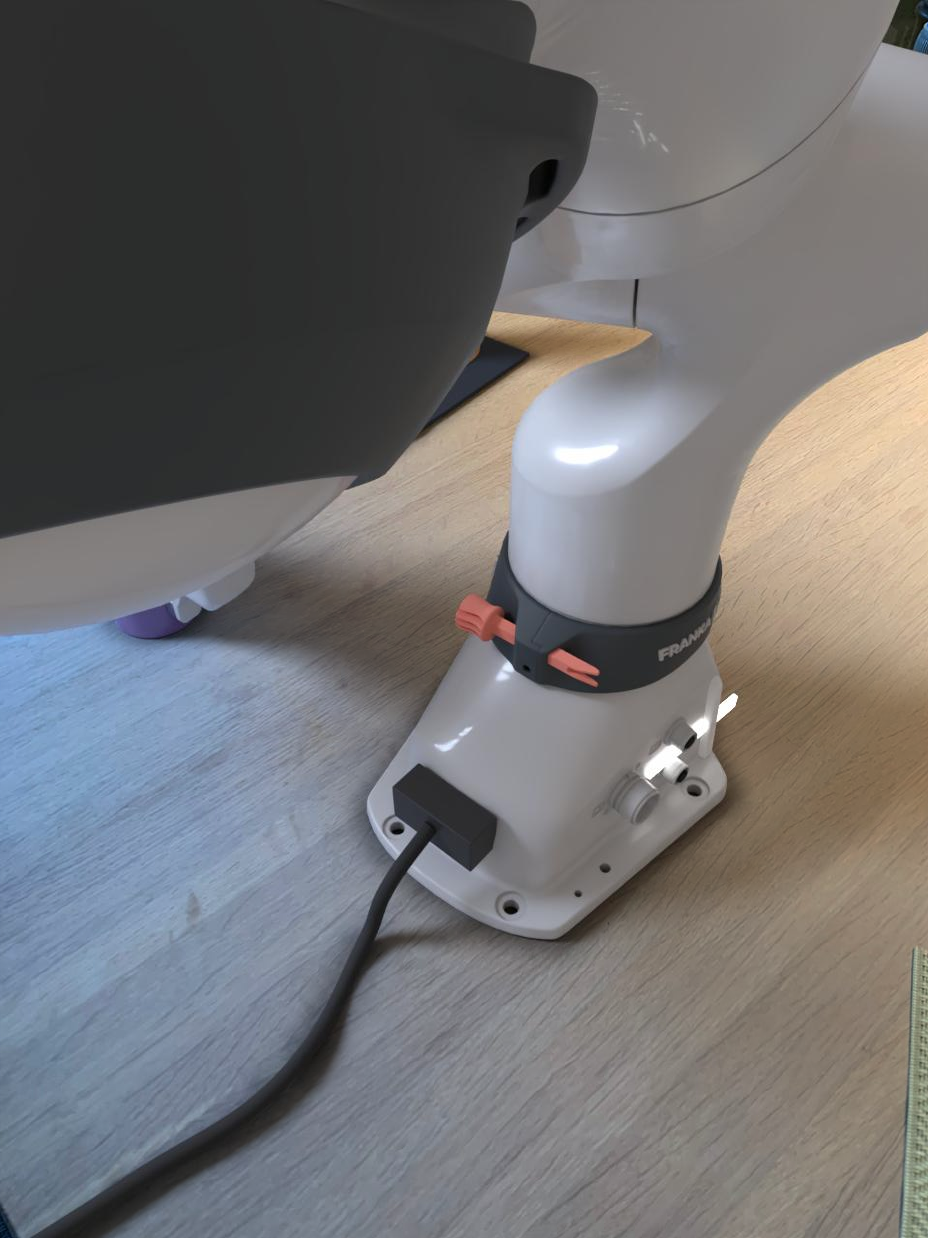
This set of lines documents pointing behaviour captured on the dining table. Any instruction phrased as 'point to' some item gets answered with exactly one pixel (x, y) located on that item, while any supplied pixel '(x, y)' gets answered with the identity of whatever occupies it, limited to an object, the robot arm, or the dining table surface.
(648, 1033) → the dining table surface
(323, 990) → the dining table surface
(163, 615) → the purple cylinder puck
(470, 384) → the placemat
